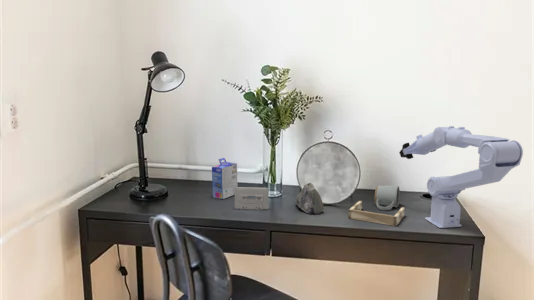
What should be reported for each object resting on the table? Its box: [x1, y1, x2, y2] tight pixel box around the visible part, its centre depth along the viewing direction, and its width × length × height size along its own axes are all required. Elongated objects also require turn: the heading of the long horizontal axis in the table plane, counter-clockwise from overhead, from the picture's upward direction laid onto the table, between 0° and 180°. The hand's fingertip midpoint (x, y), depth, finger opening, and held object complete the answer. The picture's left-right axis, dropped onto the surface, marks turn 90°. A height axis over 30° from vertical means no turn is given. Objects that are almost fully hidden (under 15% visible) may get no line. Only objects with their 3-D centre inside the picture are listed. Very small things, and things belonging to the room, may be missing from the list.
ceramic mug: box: [374, 185, 401, 211], centre depth 181 cm, size 11×8×8 cm
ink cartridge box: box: [211, 157, 239, 200], centre depth 192 cm, size 10×6×14 cm, turn 148°
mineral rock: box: [294, 182, 325, 215], centre depth 177 cm, size 13×11×10 cm
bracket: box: [347, 200, 405, 227], centre depth 169 cm, size 12×16×3 cm
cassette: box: [234, 186, 270, 210], centre depth 177 cm, size 12×2×8 cm, turn 89°
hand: (409, 151), depth 182 cm, fingers open, 7 cm apart
